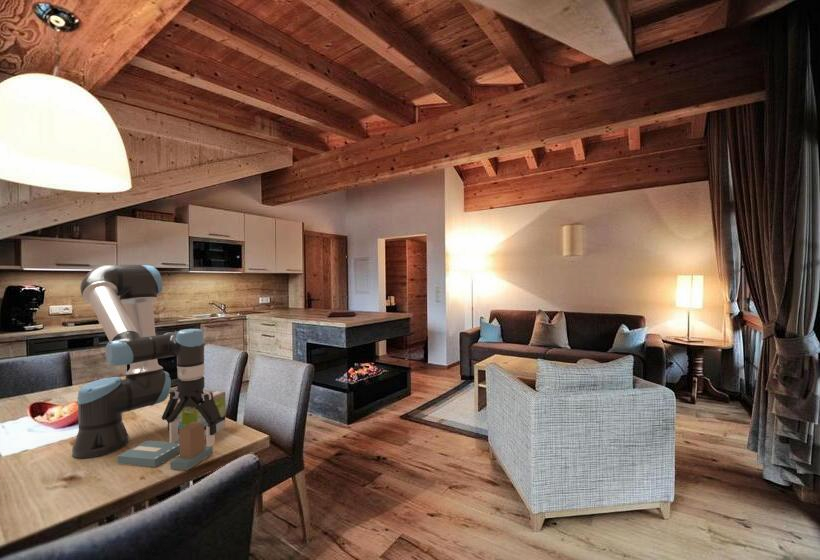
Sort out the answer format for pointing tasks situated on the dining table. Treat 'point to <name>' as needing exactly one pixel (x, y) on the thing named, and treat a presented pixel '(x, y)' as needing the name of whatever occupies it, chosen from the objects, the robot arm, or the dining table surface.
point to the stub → (191, 447)
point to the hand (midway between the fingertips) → (192, 442)
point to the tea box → (194, 415)
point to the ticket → (149, 454)
